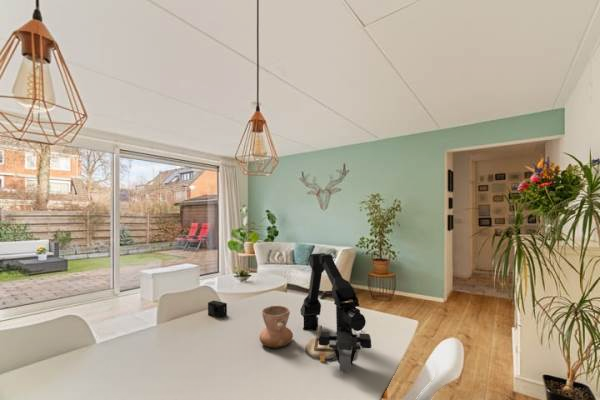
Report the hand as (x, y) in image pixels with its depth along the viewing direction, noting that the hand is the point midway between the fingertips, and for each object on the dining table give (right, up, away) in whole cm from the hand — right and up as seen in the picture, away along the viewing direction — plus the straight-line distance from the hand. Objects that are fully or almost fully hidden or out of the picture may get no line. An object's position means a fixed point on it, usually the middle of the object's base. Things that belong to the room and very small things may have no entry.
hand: (345, 363), depth 100 cm
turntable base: (-7, -2, +12) cm, 14 cm away
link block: (0, -1, 0) cm, 1 cm away
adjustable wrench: (+6, -2, +16) cm, 18 cm away
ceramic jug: (-27, -3, +19) cm, 33 cm away
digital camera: (-63, -5, +52) cm, 82 cm away
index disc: (-7, -2, +12) cm, 14 cm away
